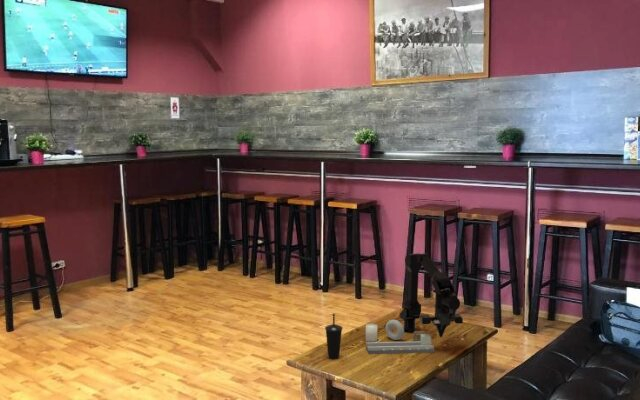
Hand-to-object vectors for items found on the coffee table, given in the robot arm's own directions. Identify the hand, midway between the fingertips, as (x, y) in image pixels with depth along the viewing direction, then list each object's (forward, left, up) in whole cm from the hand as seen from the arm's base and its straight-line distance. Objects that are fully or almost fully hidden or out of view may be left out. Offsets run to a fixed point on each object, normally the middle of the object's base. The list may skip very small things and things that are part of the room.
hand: (440, 337), depth 274 cm
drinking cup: (+7, -50, -6) cm, 51 cm away
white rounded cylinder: (-14, -30, -6) cm, 33 cm away
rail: (0, -19, -6) cm, 20 cm away
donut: (-13, -19, -6) cm, 24 cm away
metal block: (-11, -7, -6) cm, 14 cm away
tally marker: (0, -7, -4) cm, 8 cm away
